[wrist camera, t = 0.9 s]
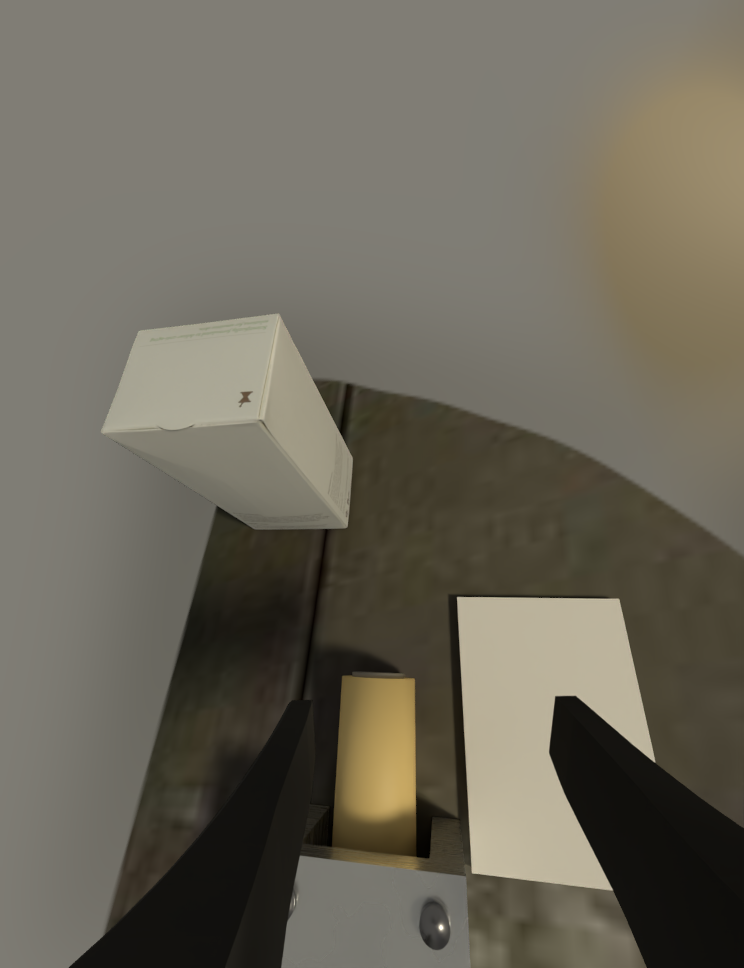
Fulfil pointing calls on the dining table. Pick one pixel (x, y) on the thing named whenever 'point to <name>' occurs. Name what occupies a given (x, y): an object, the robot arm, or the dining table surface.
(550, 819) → the plate
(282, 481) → the skincare box
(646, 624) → the dining table surface
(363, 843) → the tall yellow cylinder
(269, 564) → the dining table surface
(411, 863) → the bearing block
